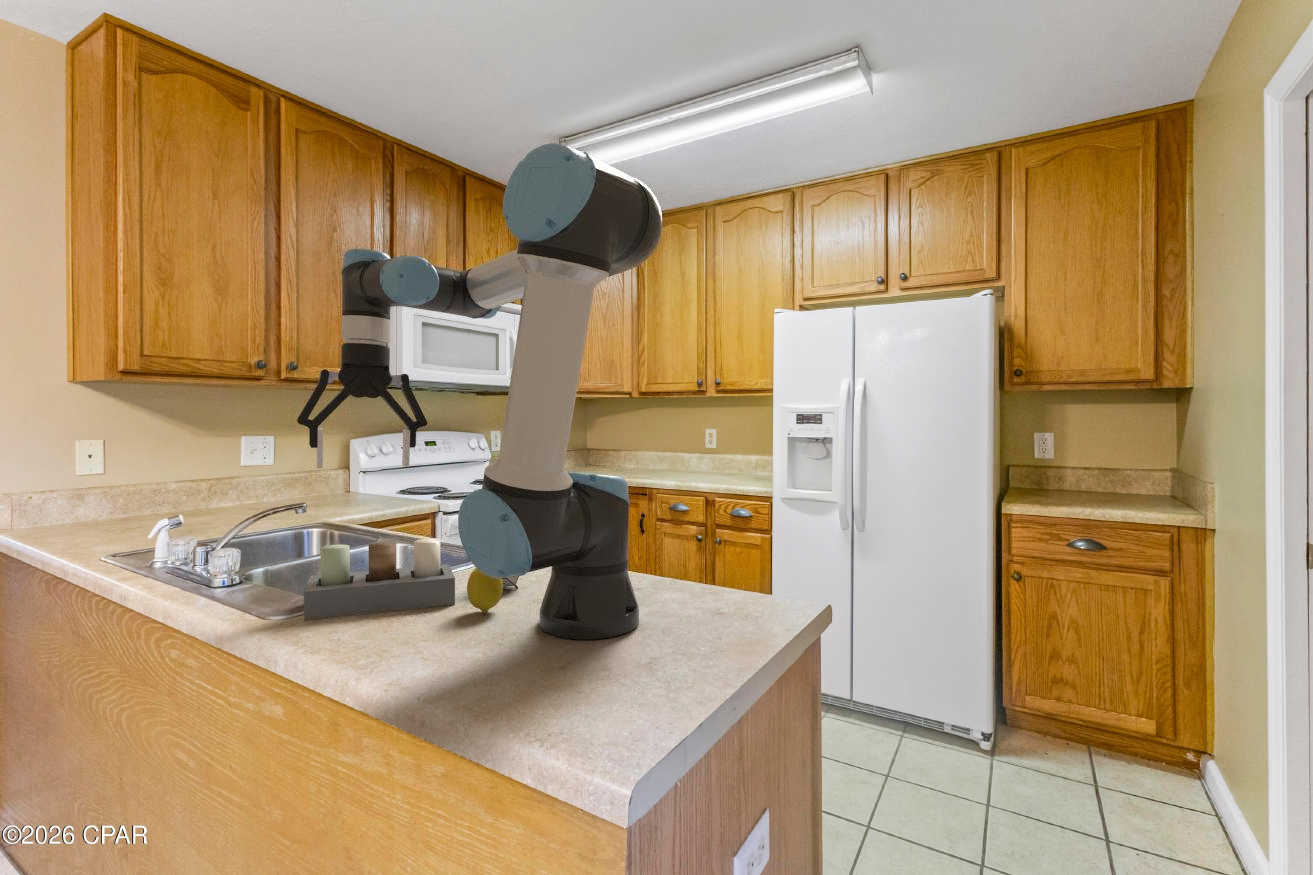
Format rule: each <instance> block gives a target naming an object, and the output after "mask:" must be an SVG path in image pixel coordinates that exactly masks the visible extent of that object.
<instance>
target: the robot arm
mask: <svg viewBox="0 0 1313 875" xmlns="http://www.w3.org/2000/svg"><path fill="white" fill-rule="evenodd" d="M657 199H658V198H656V196H655V195H654V193H653V192H652V191H651V189H650V188H649V187H648V186H647V185H646V184H644V182H642V181H641V180H640V179H639V180H638V179H637V178H635V177H633V176H631V175H629V174H626V173H624V172H622V171H620V170H618V169H617V168H614V167H613V166H611V165H608V164H607V163H605V162H603V161H601V160H599V159H597V158H595V157H593V156H592V155H590V154H589V153H587V152H586V151H583V150H579V149H575V148H572V147H570V146H567V145H565V144H562V143H557V142H556V143H555V142H553V143H552V142H551V143H545V144H543V145H539V146H537V147H535V148H534V149H532V150H530V152H528V153H527V154H525V156H524V158H523V159H522V160H521V161H519V162H518V164H516V166H515V168H514V169H513V171H512V173H511V175H510V177H509V179H508V181H507V184H506V187H505V190H504V194H503V200H502V202H503V203H502V214H503V218H504V220H506V222H505V224H506V227H507V229H508V230H509V231H510V233H512V235H513V236H514V237H515V238H516V239H518V244H517V249H515V250H512V251H509V252H507V253H505V254H503V255H500V256H498V257H496V258H493V259H491V260H489V261H486V262H484V263H481V264H478V265H476V266H474V267H471V268H469V269H467V270H456V269H452V268H448V267H447V268H446V267H444V266H443V267H442V266H438V265H433V264H431V263H430V262H429V261H428V260H427V259H425V258H423V257H421V256H419V255H400V256H395V257H391V256H390V255H388V253H385V252H382V251H379V250H375V249H369V248H350V249H347V250H346V251H344V254H343V258H342V259H343V261H342V268H341V311H342V312H341V313H342V314H341V339H342V340H343V341H345V342H344V343H342V344H341V345H340V346H341V349H340V350H341V353H340V354H341V356H340V359H341V361H340V370H339V371H338V372H337V371H332V370H328V369H322V370H320V372H319V378H318V383H317V385H316V386H315V388H314V390H313V392H312V393H311V394H310V397H309V398H308V400H307V402H306V404H305V405H304V407H303V408H302V410H301V411H300V413H299V416H298V417H297V419H296V421H297V424H298V425H300V426H301V425H302V426H304V427H307V428H308V430H309V437H308V442H309V443H308V445H309V446H310V448H311V449H316V468H317V469H323V468H324V467H323V466H324V463H323V462H324V460H323V459H324V454H323V453H324V429H323V428H322V427H319V426H320V425H321V424H322V423H323V422H325V420H327V418H329V416H330V415H331V414H332V413H333V412H334V411H335V410H337V408H338V407H339V406H340V405H341V404H342V403H343V402H344V401H345V400H346V399H347V398H348V397H349V396H351V397H354V398H357V399H358V398H360V399H361V398H369V399H377V398H379V397H381V399H382V400H383V402H385V403H386V405H388V406H389V407H390V409H391V410H392V411H393V412H394V413H395V415H396V416H397V417H398V418H399V420H401V422H402V423H403V424H404V425H405V426H406V427H407V429H406V428H405V429H402V454H401V457H402V460H401V461H402V462H401V465H402V466H403V467H404V468H409V467H410V454H411V452H410V451H411V450H410V449H412V448H414V449H415V448H416V445H417V430H418V429H420V428H423V427H427V425H428V421H427V419H426V417H425V415H424V412H423V411H422V409H421V406H420V404H419V402H418V400H417V399H416V396H415V394H414V392H413V389H412V387H410V376H409V375H408V374H407V373H401V374H392V373H391V371H390V355H391V354H390V347H389V346H388V345H387V344H389V343H390V342H391V308H392V307H393V308H394V307H401V308H402V307H403V308H404V307H405V308H411V309H418V310H423V311H424V310H425V311H432V312H437V313H445V314H449V315H456V316H462V317H465V318H466V317H467V318H469V319H470V318H471V319H474V320H475V319H487V320H488V319H491V318H494V317H496V315H497V313H498V312H500V310H501V308H502V306H504V305H507V304H510V303H513V302H516V301H519V300H522V302H521V309H520V316H519V321H518V328H517V335H516V339H515V340H516V341H515V349H514V355H513V360H512V367H511V368H512V369H511V374H510V381H509V387H508V394H507V400H506V405H505V406H506V407H505V414H504V420H503V427H502V434H501V441H500V446H499V452H498V453H499V454H498V457H497V458H496V459H495V460H494V461H492V462H491V463H490V464H488V465H486V467H485V468H484V472H483V473H484V474H483V480H482V486H481V488H479V489H477V490H473V491H471V492H469V493H468V494H467V495H466V498H464V499H463V500H462V501H461V503H460V506H459V509H458V516H457V526H458V527H457V528H458V534H459V539H460V542H461V546H462V548H463V549H464V551H465V553H466V556H467V558H468V559H469V561H470V562H471V563H472V565H473V566H474V567H475V569H476V568H477V569H478V570H479V571H481V572H482V573H484V574H485V575H487V576H490V577H493V578H505V577H510V576H519V577H522V576H525V575H527V573H531V572H532V573H533V572H535V571H539V570H543V569H546V568H550V567H551V574H550V577H549V581H548V583H547V587H546V590H545V592H544V595H543V599H542V602H541V605H540V608H539V627H540V629H541V630H542V631H544V632H545V633H547V634H549V635H552V636H555V637H558V638H563V639H571V640H600V639H607V638H614V637H619V636H622V635H624V634H625V635H626V634H627V633H630V632H631V631H633V630H634V629H635V630H636V628H637V627H638V626H639V623H640V608H639V604H638V603H639V602H638V601H637V598H636V595H635V594H636V593H635V591H634V587H633V585H632V581H631V579H630V578H631V577H630V574H629V533H630V532H629V527H630V526H629V523H630V521H629V520H630V517H629V516H630V505H631V504H630V503H631V501H630V497H629V485H628V482H627V480H626V479H625V478H624V477H621V476H617V475H608V474H607V475H606V474H594V473H584V472H572V471H567V470H566V468H565V462H566V458H567V451H568V445H569V441H570V434H571V433H570V432H571V428H572V422H573V416H574V409H575V406H576V405H575V403H576V399H577V393H578V387H579V381H580V376H581V369H582V364H583V358H584V352H585V346H586V339H587V334H588V327H589V322H590V316H591V312H592V311H591V310H592V306H593V305H592V304H593V300H594V299H593V298H594V292H595V289H596V287H597V286H598V285H599V284H600V283H602V282H603V281H604V280H606V279H607V278H608V277H609V278H610V277H612V276H614V275H615V276H617V275H618V274H621V273H624V272H627V271H630V270H632V269H635V268H637V267H639V266H640V265H641V264H643V263H644V262H645V261H647V260H648V259H649V258H650V256H652V255H653V253H654V251H655V250H656V248H657V246H658V244H659V243H660V242H659V241H660V240H661V236H662V232H663V231H662V230H663V214H662V211H661V210H662V209H661V206H660V204H659V202H658V200H657ZM335 379H338V381H339V383H341V385H342V386H343V388H342V389H341V390H340V391H339V392H338V393H337V394H336V396H334V397H333V399H332V400H330V402H329V403H328V404H326V405H325V406H324V407H323V409H321V411H320V412H319V413H317V414H316V415H315V417H314V418H313V419H310V418H309V417H310V416H311V414H312V412H313V411H314V410H315V407H316V405H317V404H318V402H319V400H320V398H321V397H322V395H323V394H324V392H325V390H326V388H327V387H328V384H332V383H333V382H334V380H335ZM392 382H393V383H395V385H396V386H397V387H398V388H400V389H401V392H402V394H403V396H404V398H405V400H406V403H407V405H408V406H409V408H410V410H411V412H412V414H413V416H414V418H415V420H413V419H412V418H411V416H410V415H409V414H408V413H407V411H405V410H404V409H403V407H402V406H401V405H400V404H399V402H397V401H396V399H395V398H394V397H393V395H392V394H391V393H390V392H389V391H388V387H389V386H390V385H391V383H392Z"/></svg>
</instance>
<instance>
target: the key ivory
mask: <svg viewBox="0 0 1313 875" xmlns="http://www.w3.org/2000/svg"><path fill="white" fill-rule="evenodd" d="M440 565H441V539H440V538H421V539H417V540H416V539H415V540H414V541H413V567H414V578H419V577H430V576H440Z"/></svg>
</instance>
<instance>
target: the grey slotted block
mask: <svg viewBox="0 0 1313 875" xmlns="http://www.w3.org/2000/svg"><path fill="white" fill-rule="evenodd" d="M454 605H456V578H455V575H454V572H453V571H452V568H451V566H450V564H449V563H447V564H440V576H430V577H419V578H414V566H412V567H402V568H401V567H400V568H396V580H385V581H374V582H369V570H365V571H352V572H351V571H350V584H340V585H329V586H321V574H316V575H310V577H309V579H308V580H307V584H306V586H305V588H304V590H303V621H304V622H305V621H315V620H316V621H317V620H324V619H333V618H343V617H345V618H346V617H352V616H361V615H362V616H363V615H372V614H379V613H380V614H381V613H388V612H389V613H390V612H399V611H409V610H416V609H417V610H418V609H419V610H420V609H428V608H436V607H437V608H438V607H445V606H454Z"/></svg>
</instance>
